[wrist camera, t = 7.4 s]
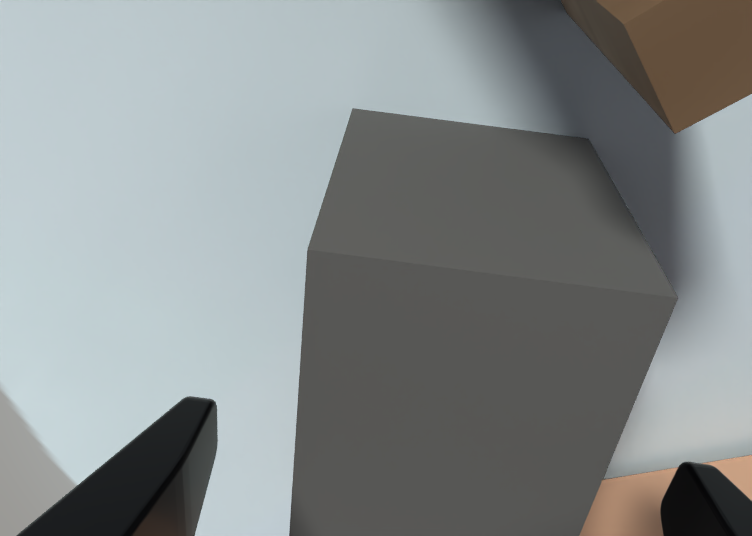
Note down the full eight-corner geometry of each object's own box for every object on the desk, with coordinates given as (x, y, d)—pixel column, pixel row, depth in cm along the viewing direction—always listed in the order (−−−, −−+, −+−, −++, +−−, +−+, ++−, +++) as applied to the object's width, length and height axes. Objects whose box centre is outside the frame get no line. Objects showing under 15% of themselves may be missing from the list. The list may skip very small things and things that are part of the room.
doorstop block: (352, 107, 13) (307, 248, 8) (587, 137, 13) (677, 297, 8) (330, 353, 16) (288, 558, 11) (518, 377, 16) (555, 593, 11)
